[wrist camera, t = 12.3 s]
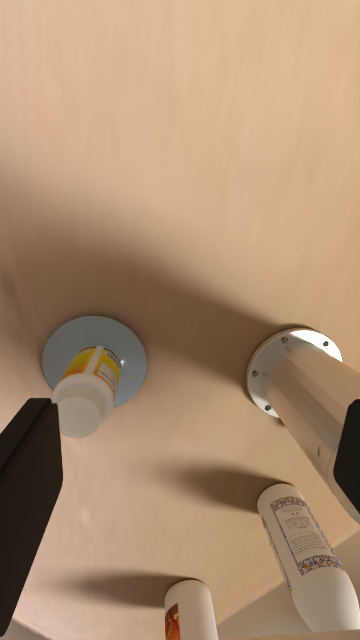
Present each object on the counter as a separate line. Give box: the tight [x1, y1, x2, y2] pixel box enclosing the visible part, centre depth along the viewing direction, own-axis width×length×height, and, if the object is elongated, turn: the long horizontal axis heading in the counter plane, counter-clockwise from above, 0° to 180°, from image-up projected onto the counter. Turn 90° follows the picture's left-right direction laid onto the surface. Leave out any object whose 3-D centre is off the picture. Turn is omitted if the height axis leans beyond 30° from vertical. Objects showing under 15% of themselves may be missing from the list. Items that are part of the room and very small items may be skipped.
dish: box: [42, 315, 147, 408], centre depth 34 cm, size 12×12×1 cm
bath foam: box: [257, 484, 360, 633], centre depth 34 cm, size 7×7×20 cm
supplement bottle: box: [51, 345, 121, 438], centre depth 29 cm, size 6×6×10 cm
